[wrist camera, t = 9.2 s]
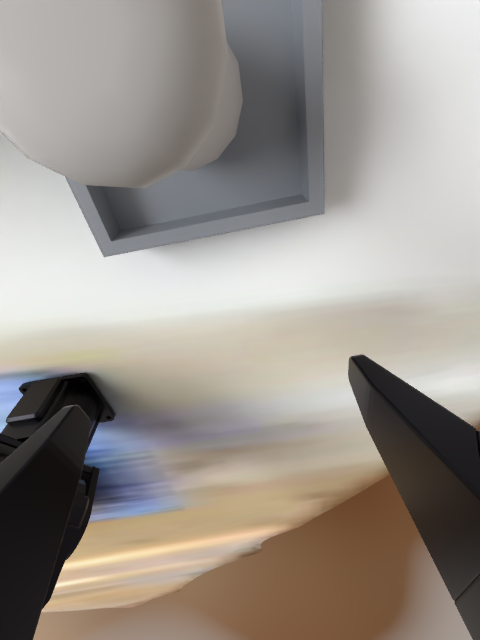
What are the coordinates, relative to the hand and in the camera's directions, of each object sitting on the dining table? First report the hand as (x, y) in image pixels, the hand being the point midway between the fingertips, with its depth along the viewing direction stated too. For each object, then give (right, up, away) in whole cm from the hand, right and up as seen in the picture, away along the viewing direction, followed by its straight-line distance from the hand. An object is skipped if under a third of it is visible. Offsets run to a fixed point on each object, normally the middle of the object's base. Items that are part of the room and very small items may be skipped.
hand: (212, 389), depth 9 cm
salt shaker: (-2, +14, +5) cm, 15 cm away
